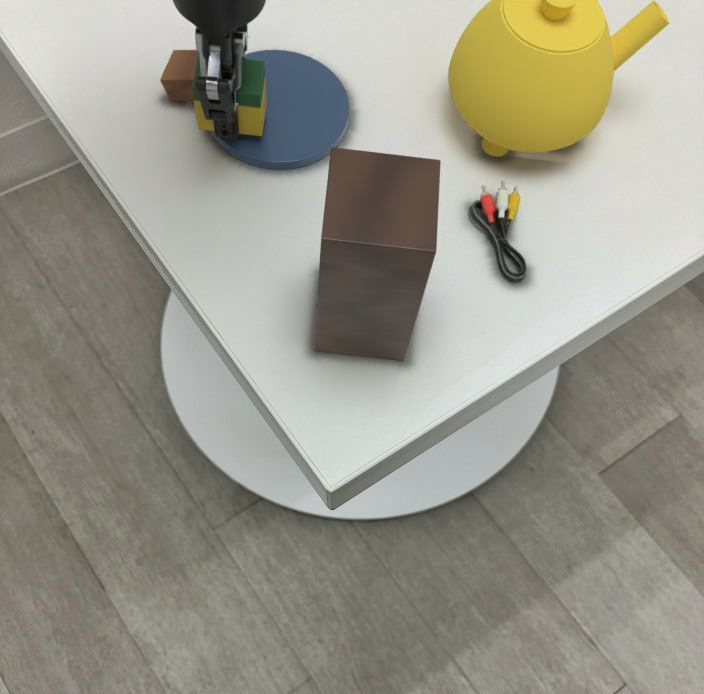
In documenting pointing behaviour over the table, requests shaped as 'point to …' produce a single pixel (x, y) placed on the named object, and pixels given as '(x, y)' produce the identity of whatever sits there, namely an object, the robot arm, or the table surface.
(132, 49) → the table surface
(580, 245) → the table surface
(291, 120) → the plate
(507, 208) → the composite cable
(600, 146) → the table surface
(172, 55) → the brown square block
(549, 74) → the teapot
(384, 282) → the tall dark wooden block
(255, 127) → the sponge
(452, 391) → the table surface
